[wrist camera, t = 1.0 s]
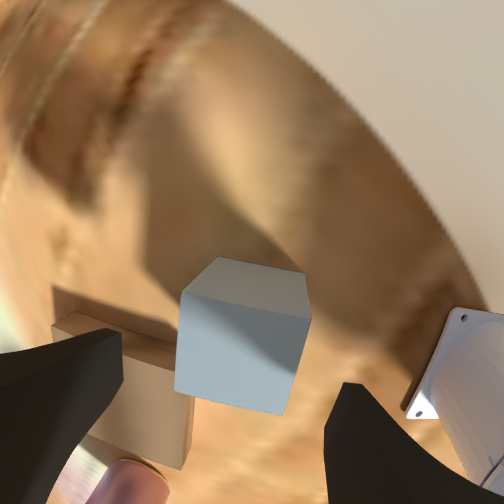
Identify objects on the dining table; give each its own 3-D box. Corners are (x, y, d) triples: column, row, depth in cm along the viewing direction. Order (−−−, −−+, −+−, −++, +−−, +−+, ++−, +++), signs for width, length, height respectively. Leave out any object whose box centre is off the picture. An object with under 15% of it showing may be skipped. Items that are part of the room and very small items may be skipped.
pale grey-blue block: (304, 273, 15) (311, 318, 10) (286, 348, 16) (282, 415, 11) (218, 256, 15) (181, 291, 10) (207, 332, 16) (174, 390, 11)
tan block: (202, 347, 17) (186, 374, 14) (192, 442, 19) (181, 470, 16) (78, 308, 18) (50, 325, 15) (90, 404, 20) (71, 425, 17)
